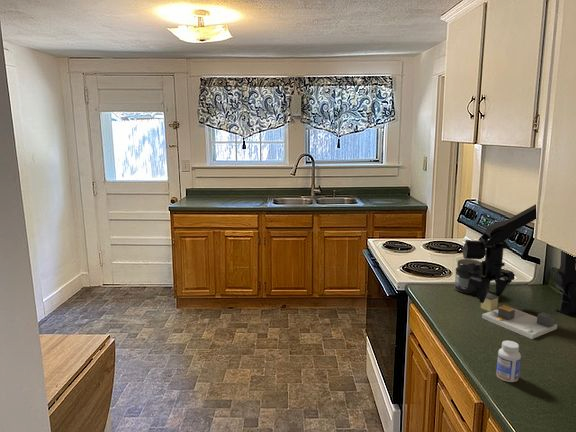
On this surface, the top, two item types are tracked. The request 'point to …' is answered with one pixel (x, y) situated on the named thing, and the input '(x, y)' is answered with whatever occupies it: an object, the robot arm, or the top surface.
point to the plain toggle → (545, 319)
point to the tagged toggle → (506, 312)
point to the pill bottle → (508, 361)
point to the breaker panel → (519, 323)
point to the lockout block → (490, 302)
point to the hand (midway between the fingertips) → (489, 300)
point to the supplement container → (465, 277)
